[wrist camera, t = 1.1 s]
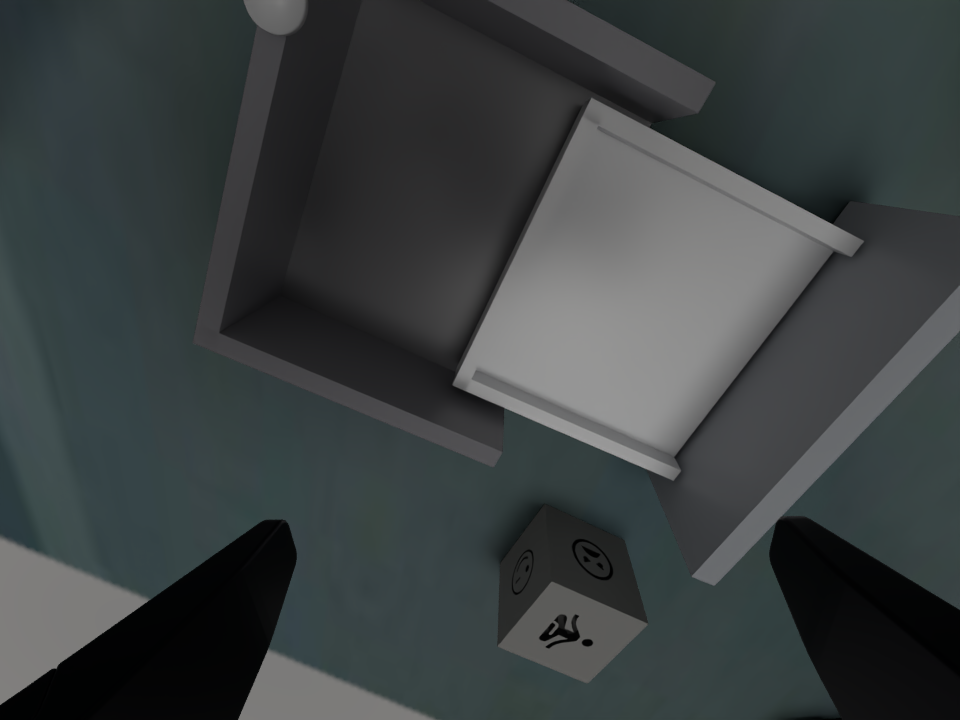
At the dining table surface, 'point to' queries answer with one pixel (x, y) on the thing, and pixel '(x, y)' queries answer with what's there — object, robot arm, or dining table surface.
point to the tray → (708, 326)
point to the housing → (403, 188)
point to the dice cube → (568, 596)
